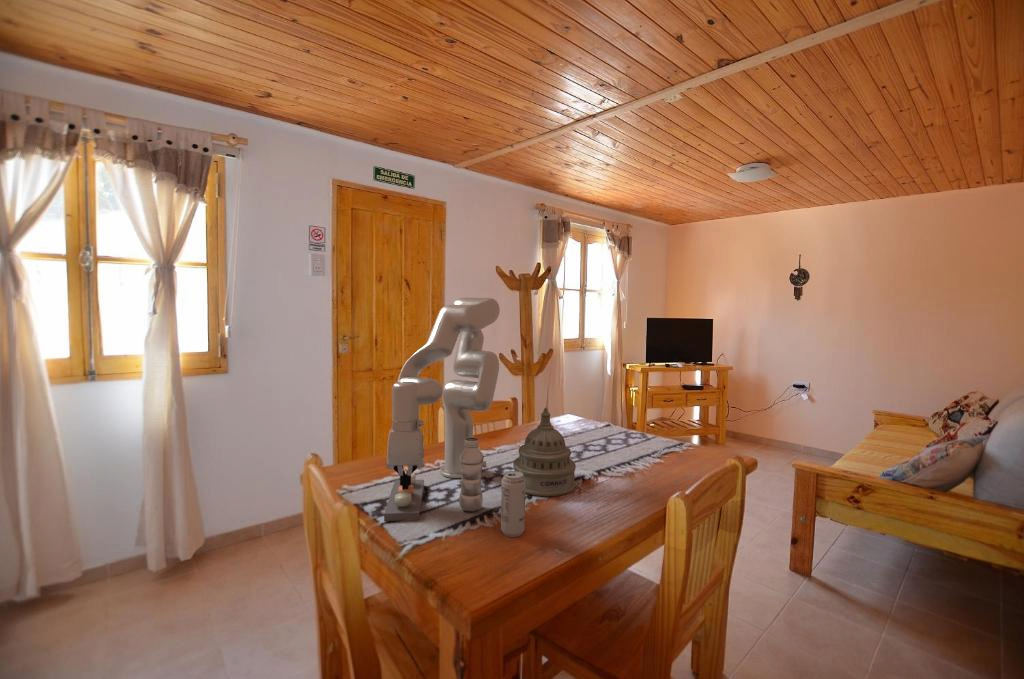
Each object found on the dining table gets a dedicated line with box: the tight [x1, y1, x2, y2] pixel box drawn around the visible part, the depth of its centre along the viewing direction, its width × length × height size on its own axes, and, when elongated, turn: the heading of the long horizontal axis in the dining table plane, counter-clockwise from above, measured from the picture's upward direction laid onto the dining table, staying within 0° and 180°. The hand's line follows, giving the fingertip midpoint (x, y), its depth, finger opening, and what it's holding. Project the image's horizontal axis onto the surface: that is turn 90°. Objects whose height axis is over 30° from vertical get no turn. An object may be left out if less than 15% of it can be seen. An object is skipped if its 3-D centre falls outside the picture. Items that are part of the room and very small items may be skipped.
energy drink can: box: [500, 470, 526, 538], centre depth 117 cm, size 6×6×15 cm
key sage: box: [395, 493, 411, 506], centre depth 126 cm, size 4×4×2 cm
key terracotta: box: [398, 485, 414, 496], centre depth 134 cm, size 4×4×2 cm
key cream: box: [411, 472, 417, 484], centre depth 141 cm, size 4×4×2 cm
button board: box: [383, 479, 425, 522], centre depth 134 cm, size 9×23×2 cm, turn 7°
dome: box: [512, 407, 577, 497], centre depth 148 cm, size 20×25×20 cm
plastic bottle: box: [458, 437, 484, 512], centre depth 129 cm, size 6×7×20 cm
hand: (405, 487), depth 133 cm, fingers closed
